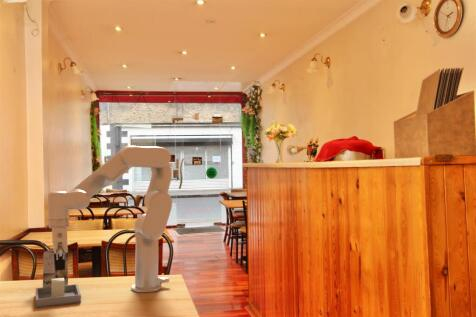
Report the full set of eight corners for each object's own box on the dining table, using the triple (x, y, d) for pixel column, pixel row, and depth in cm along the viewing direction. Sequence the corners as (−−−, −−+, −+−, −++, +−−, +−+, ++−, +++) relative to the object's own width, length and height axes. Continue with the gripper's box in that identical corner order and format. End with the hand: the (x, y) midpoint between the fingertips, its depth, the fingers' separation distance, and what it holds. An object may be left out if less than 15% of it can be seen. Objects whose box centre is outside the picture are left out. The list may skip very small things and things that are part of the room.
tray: (77, 291, 184) (77, 284, 184) (80, 302, 170) (80, 294, 170) (35, 295, 177) (35, 288, 177) (35, 308, 163) (35, 299, 163)
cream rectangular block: (63, 295, 176) (63, 277, 176) (64, 298, 172) (64, 280, 172) (51, 296, 175) (51, 278, 175) (51, 300, 170) (51, 281, 170)
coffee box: (56, 291, 183) (56, 252, 183) (42, 290, 184) (42, 251, 184) (68, 285, 192) (69, 248, 192) (55, 284, 193) (55, 247, 193)
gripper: (70, 225, 167) (71, 271, 167) (67, 219, 183) (68, 260, 183) (49, 227, 164) (50, 273, 164) (47, 220, 180) (48, 263, 180)
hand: (59, 266), depth 174 cm, fingers open, 9 cm apart
